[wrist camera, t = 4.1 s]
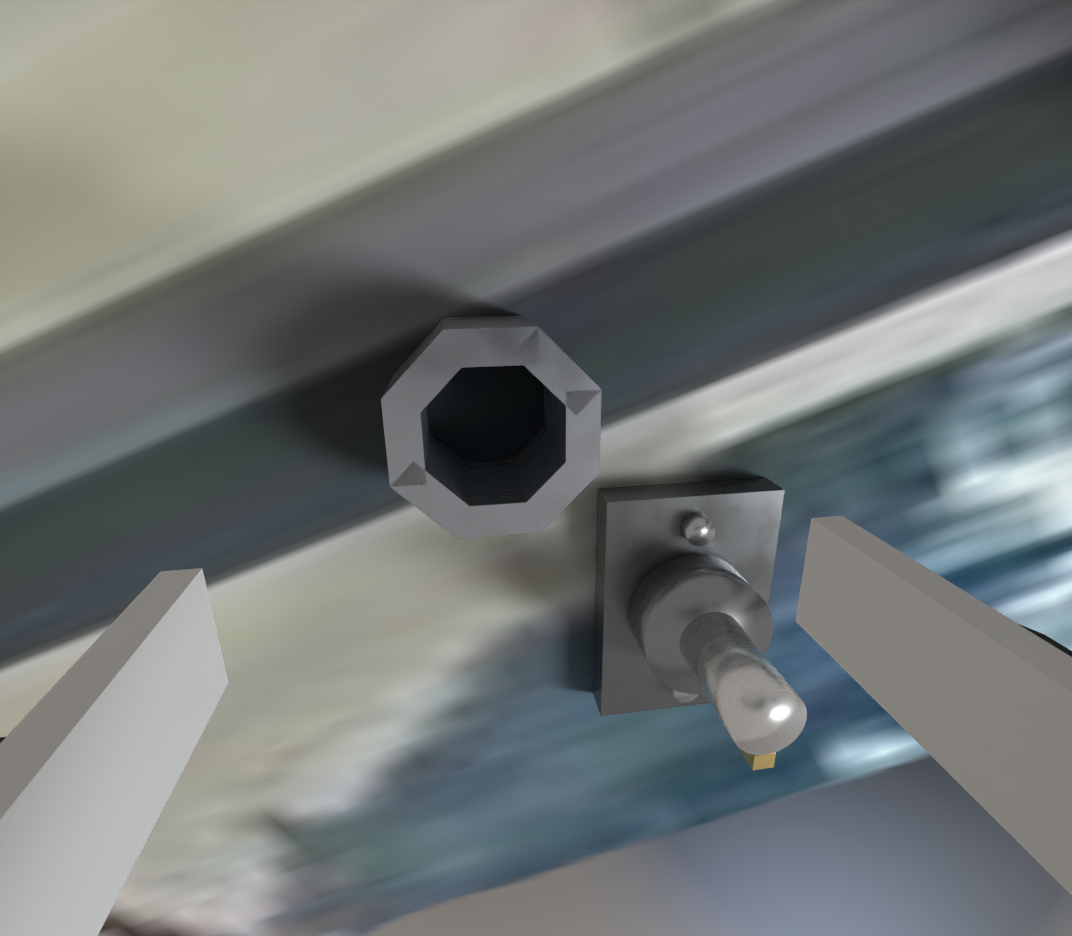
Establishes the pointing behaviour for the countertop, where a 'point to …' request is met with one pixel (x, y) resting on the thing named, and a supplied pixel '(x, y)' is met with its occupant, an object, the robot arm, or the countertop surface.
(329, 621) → the countertop surface
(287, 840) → the countertop surface
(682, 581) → the shaft stand
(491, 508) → the hub
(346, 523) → the countertop surface
